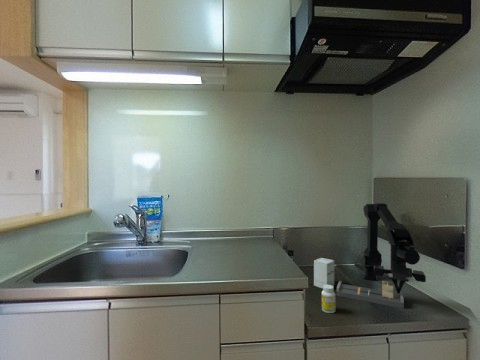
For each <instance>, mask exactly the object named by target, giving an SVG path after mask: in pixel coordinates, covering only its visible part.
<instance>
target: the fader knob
mask: <svg viewBox="0 0 480 360" xmlns="http://www.w3.org/2000/svg"><path fill="white" fill-rule="evenodd" d="M381 285H382V286H381V287H382V288H381V291H382V297H387V298H393V293H394V283H393V281H392V282H391V281H387V280H382V281H381Z"/></svg>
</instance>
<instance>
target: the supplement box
mask: <svg viewBox="0 0 480 360" xmlns="http://www.w3.org/2000/svg"><path fill="white" fill-rule="evenodd" d="M323 285H332V286H333V287H335V260H333V259H329V258H323V257H320V258H317V259H315V260H313V286H315V287H317V288H319V289H323Z"/></svg>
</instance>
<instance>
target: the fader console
mask: <svg viewBox="0 0 480 360" xmlns="http://www.w3.org/2000/svg"><path fill="white" fill-rule="evenodd" d="M336 296H337V297H341V298H346V299H352V300H355V301H356V300H357V301H363V302H367V303H373V304H378V305H383V306H387V307H393V308H399V309H405V305H404V304H405V302H404V294H403V290H401V291H400V294H398V293H397V292H393V298H387V297H382V289H375V288H368V287H363V286H358V285H351V284H346V283H345V284H344V283H342V280H338V283H337V285H336V292H335V297H336Z"/></svg>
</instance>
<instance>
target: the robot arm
mask: <svg viewBox="0 0 480 360" xmlns="http://www.w3.org/2000/svg"><path fill="white" fill-rule="evenodd" d="M363 214H364V217H365V218H366V220H367V232H366V233H367V236H366V237H367V239H366V240H367V241H366V242H367V243H366V248H365V249H364V251H363V255H362V257H361V259H360V261H359V262H360V266H361V267H363V268H364V274H363V278H362V279H364V280H369V281H374V282H375V281H376V282H377V281H378V276H379V277H383V276H384V275H385V274H386V275H388V279H389V280H391V281H392V283H393V286H394V288H395V290H396V293H398V294H400V291H402V289H403V286H404V285H405V283H406V282H409V281H410V280H409V278H414V281H416V282H421V283H426V282H427V279H426V277H427V276H426V274H425V272H424V271H422V270H415V269H414V270H413V269H412V268H410V267H407V264H409V265H416V264H418V263H419V261H420V260H421V255H420V253H419V252H418V251H417V250H415V247H414V246H415V244H414V240H413V238H412V236H411V234H410V233H411V232H409V230H408V228H407V227H406V226H405V225H404V224H402V223H400V222H398V221H397V220H396V218H395V216H394V215H393V213H392V212H391V210H390V209H389V207H388V205H387V203H384V202H378V203H377V202H376V203H366V204H365V205H364V206H363ZM380 219H381V221H382V222H383V224H384V225H385V227H386V231H385V233H386V235H387V238H388V240H389V241H388V244H389V245H390V268H389V269H388V268H385V267H384V266H383V265H382V263H383V260H382V254H381V252H380V250H379V249H378V244H379V243H378V240H379V239H378V238H379V235H378V233H379V221H380Z"/></svg>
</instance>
